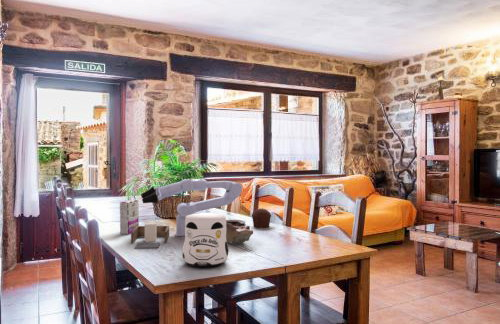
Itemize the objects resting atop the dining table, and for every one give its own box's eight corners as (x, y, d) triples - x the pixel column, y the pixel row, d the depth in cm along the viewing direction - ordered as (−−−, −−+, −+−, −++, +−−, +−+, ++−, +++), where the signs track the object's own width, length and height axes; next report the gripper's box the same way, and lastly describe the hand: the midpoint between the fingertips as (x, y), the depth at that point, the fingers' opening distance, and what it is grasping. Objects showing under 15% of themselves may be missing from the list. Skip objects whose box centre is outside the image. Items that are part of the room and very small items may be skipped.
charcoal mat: (160, 243, 182) (160, 242, 182) (158, 248, 173) (158, 247, 173) (137, 243, 181) (137, 242, 181) (134, 248, 172) (134, 247, 172)
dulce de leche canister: (196, 273, 139) (196, 222, 138) (174, 261, 153) (174, 215, 152) (237, 265, 149) (237, 217, 148) (213, 255, 163) (213, 211, 162)
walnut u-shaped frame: (169, 235, 199) (169, 225, 199) (166, 243, 183) (166, 232, 183) (136, 236, 197) (136, 226, 197) (131, 243, 181) (131, 232, 181)
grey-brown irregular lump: (242, 237, 197) (242, 217, 197) (260, 246, 179) (260, 224, 179) (217, 239, 192) (217, 219, 192) (233, 248, 174) (233, 226, 174)
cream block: (156, 239, 191) (156, 222, 191) (155, 241, 186) (155, 224, 186) (145, 239, 191) (146, 222, 191) (144, 241, 186) (144, 224, 186)
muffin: (274, 227, 222) (274, 210, 222) (256, 229, 218) (256, 211, 218) (265, 224, 233) (266, 207, 233) (248, 225, 229) (248, 208, 229)
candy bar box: (130, 229, 212) (130, 199, 212) (138, 230, 211) (139, 199, 211) (119, 234, 201) (119, 201, 201) (128, 234, 200) (128, 202, 200)
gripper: (165, 179, 205) (138, 187, 201) (168, 187, 191) (140, 195, 188) (168, 191, 207) (142, 199, 203) (172, 200, 194) (144, 209, 190)
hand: (141, 198), depth 196 cm, fingers open, 7 cm apart
